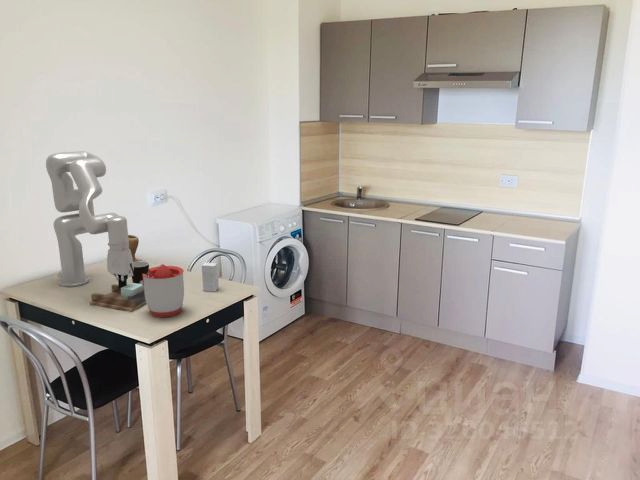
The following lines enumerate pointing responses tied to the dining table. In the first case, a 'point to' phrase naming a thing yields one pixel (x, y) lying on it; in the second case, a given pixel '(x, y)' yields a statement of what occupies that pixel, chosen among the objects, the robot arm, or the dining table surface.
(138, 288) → the block
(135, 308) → the rail board
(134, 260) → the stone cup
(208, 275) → the skincare box
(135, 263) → the coffee mug
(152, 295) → the citrus juicer
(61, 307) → the dining table surface
